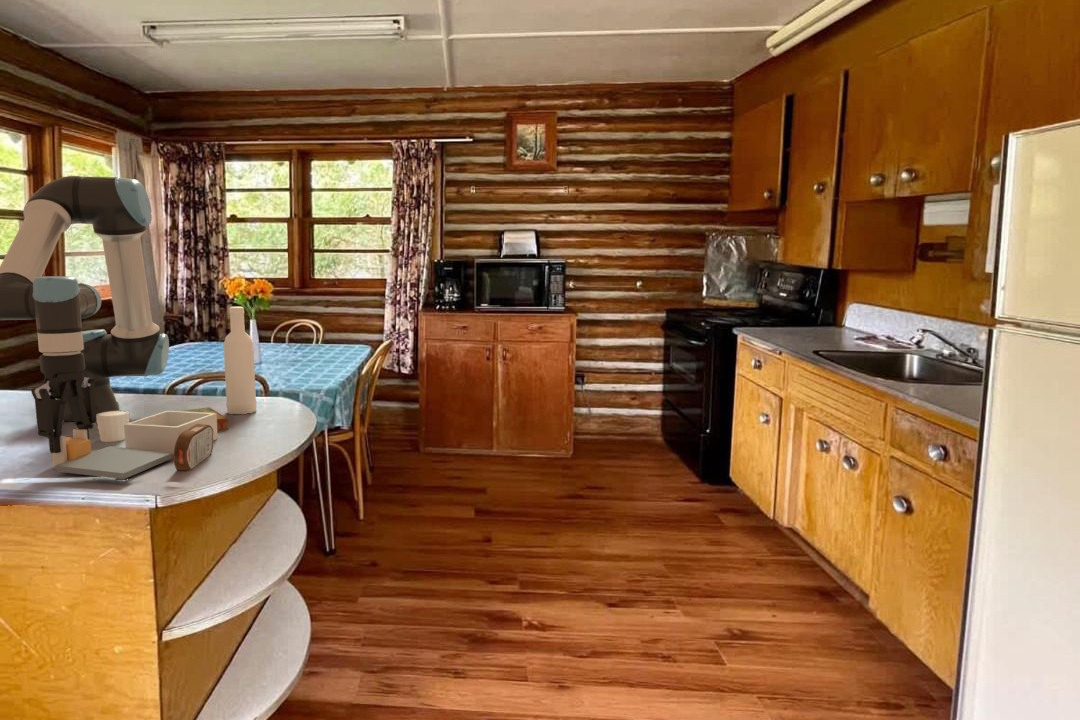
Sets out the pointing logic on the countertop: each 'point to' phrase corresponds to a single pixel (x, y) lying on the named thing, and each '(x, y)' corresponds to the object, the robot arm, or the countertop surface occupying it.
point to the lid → (108, 460)
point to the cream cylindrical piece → (112, 425)
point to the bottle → (239, 366)
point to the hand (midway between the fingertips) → (71, 463)
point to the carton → (221, 420)
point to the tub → (164, 429)
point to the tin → (193, 446)
